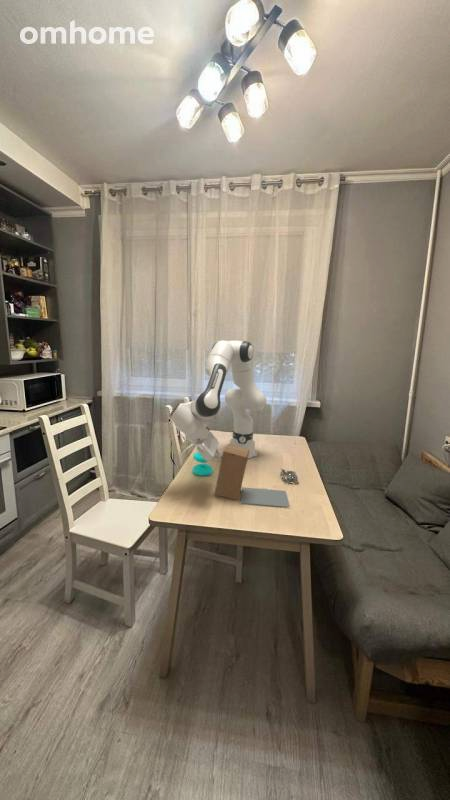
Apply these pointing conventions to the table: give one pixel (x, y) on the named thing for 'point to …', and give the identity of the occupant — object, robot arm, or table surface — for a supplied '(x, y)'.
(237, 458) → the wooden block
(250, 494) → the rubber mat
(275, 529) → the table surface
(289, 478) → the egg carton
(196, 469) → the donuts
